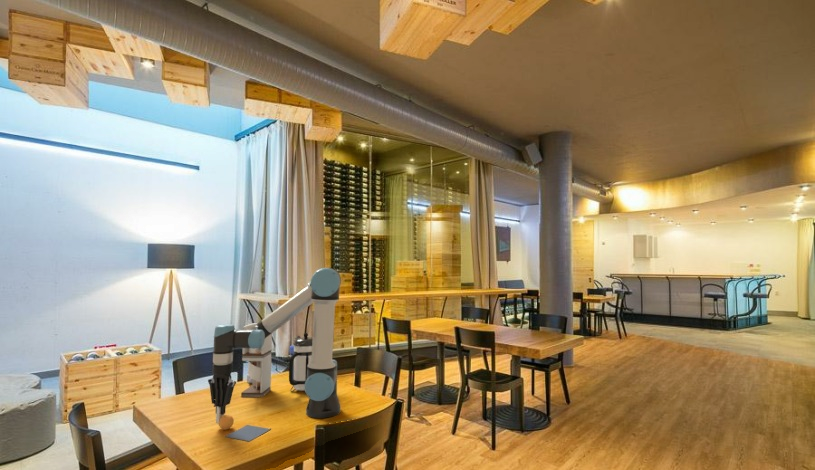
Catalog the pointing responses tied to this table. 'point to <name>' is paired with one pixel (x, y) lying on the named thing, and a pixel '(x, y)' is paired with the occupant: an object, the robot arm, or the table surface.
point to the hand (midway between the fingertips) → (219, 422)
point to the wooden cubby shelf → (258, 367)
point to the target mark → (247, 433)
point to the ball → (226, 422)
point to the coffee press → (300, 362)
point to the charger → (249, 379)
